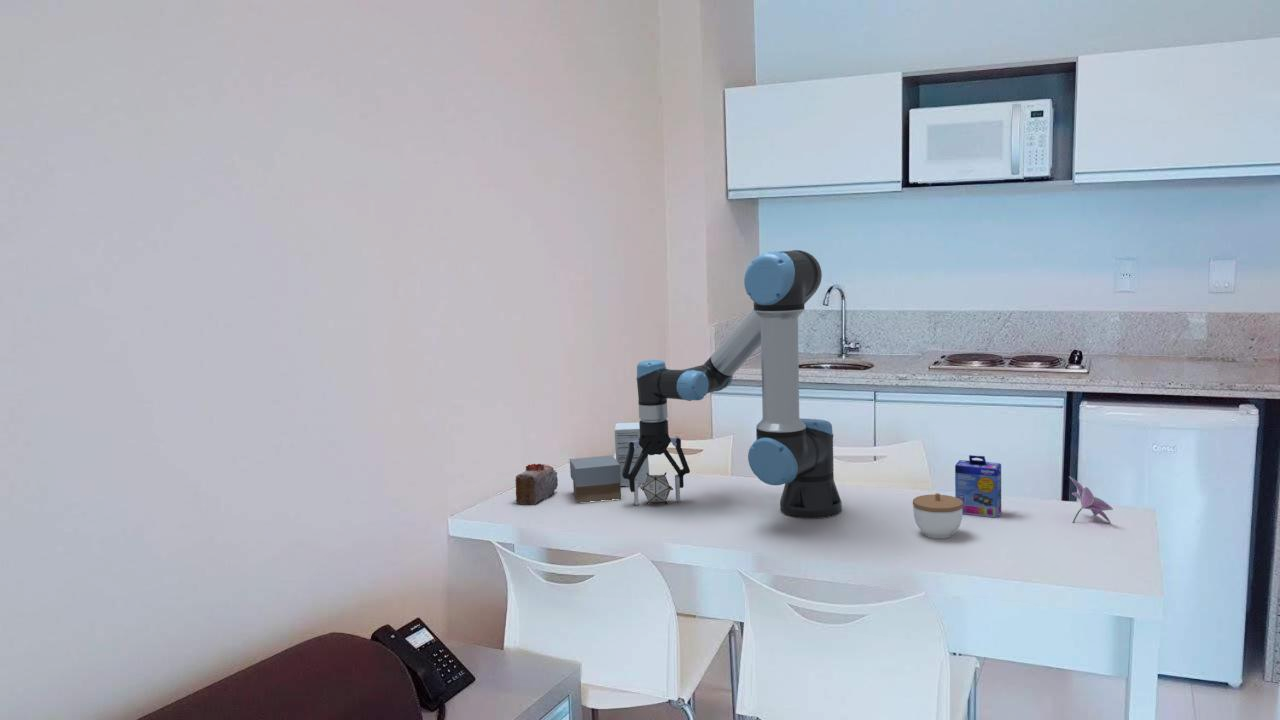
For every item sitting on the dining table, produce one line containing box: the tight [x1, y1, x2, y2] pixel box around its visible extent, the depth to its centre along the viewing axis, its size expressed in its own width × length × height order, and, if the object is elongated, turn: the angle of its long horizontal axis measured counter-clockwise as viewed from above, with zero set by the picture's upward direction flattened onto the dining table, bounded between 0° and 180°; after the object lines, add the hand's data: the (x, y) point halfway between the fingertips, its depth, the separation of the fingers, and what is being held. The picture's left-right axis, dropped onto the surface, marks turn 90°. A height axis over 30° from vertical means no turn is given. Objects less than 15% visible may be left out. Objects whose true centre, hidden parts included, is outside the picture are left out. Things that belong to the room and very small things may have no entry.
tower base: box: [572, 481, 622, 504], centre depth 250 cm, size 12×12×5 cm
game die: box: [639, 472, 674, 505], centre depth 240 cm, size 9×8×10 cm
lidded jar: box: [912, 492, 963, 539], centre depth 204 cm, size 11×11×9 cm
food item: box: [515, 463, 559, 506], centre depth 251 cm, size 14×8×10 cm, turn 162°
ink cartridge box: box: [954, 454, 1003, 519], centre depth 218 cm, size 10×6×14 cm, turn 59°
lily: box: [1068, 476, 1113, 524], centre depth 208 cm, size 12×12×10 cm
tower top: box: [569, 454, 621, 487], centre depth 250 cm, size 12×12×5 cm
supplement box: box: [614, 421, 650, 487], centre depth 262 cm, size 10×9×17 cm
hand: (657, 501), depth 241 cm, fingers open, 10 cm apart
